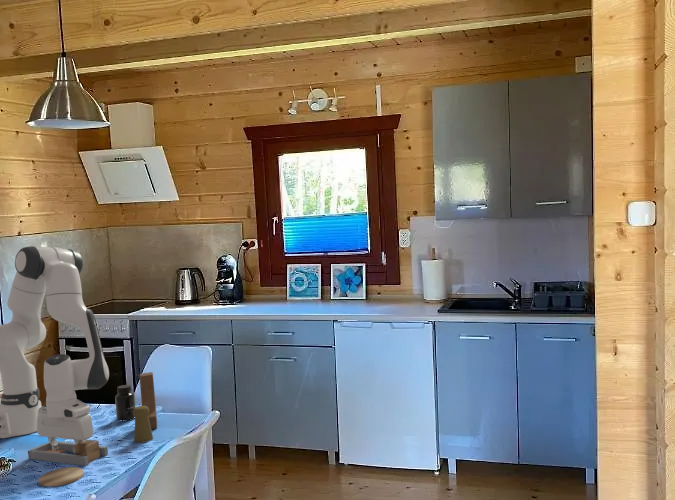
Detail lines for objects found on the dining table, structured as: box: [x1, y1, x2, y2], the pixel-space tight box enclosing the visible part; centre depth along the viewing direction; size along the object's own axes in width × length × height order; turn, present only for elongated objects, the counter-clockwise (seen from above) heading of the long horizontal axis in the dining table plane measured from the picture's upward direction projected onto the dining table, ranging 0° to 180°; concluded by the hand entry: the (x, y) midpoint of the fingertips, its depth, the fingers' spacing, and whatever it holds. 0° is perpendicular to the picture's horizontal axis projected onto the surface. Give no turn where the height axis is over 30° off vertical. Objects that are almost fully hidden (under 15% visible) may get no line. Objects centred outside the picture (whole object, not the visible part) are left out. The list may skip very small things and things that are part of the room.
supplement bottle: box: [114, 384, 136, 422], centre depth 248 cm, size 7×7×12 cm
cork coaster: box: [38, 466, 85, 488], centre depth 195 cm, size 12×12×1 cm
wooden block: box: [138, 371, 158, 430], centre depth 237 cm, size 9×4×18 cm, turn 15°
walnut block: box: [74, 439, 101, 464], centre depth 209 cm, size 5×5×5 cm
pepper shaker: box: [133, 405, 154, 444], centre depth 224 cm, size 6×6×11 cm
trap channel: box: [27, 440, 109, 467], centre depth 212 cm, size 24×9×2 cm, turn 66°
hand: (66, 451), depth 212 cm, fingers open, 7 cm apart
